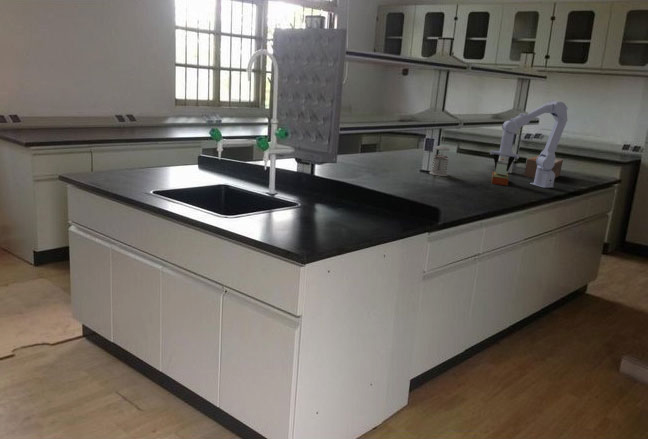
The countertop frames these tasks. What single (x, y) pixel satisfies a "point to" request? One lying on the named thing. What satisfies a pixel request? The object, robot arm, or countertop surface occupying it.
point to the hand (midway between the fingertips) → (501, 169)
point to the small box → (505, 159)
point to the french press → (440, 162)
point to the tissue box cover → (532, 167)
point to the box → (501, 168)
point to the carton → (500, 179)
